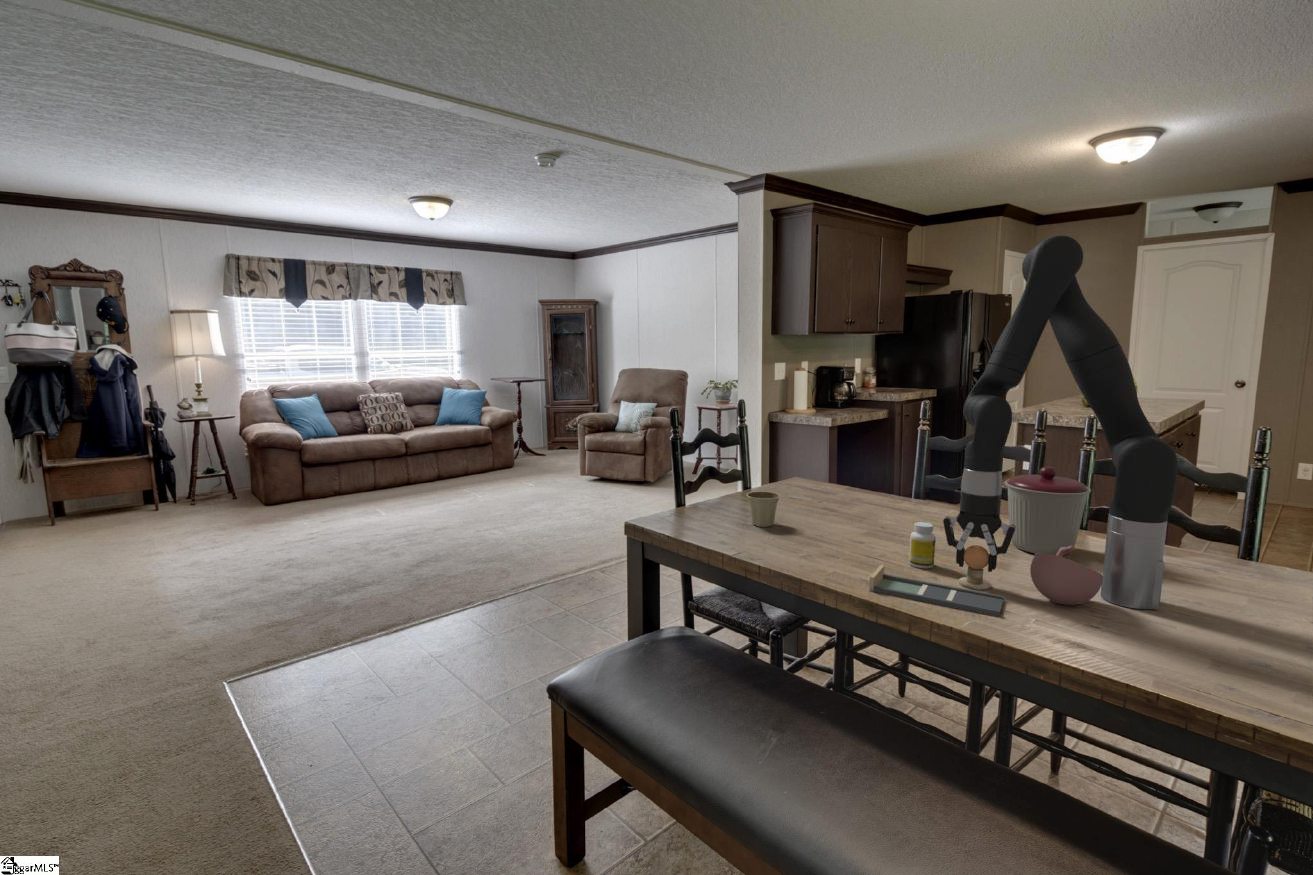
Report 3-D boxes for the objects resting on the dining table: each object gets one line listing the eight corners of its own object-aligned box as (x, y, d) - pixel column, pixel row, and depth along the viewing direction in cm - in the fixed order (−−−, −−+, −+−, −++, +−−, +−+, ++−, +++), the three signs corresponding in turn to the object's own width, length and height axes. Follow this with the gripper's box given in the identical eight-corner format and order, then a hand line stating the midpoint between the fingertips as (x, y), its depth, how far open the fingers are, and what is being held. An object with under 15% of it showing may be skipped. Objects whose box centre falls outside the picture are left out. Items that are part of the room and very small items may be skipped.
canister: (1065, 567, 147) (1073, 477, 144) (986, 547, 162) (992, 465, 158) (1097, 552, 158) (1105, 468, 155) (1020, 534, 172) (1026, 457, 169)
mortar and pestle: (1111, 606, 125) (1117, 550, 123) (1078, 619, 119) (1084, 560, 117) (1049, 586, 135) (1053, 534, 133) (1015, 598, 129) (1019, 543, 128)
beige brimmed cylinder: (991, 583, 137) (992, 567, 137) (988, 592, 132) (989, 575, 132) (961, 577, 140) (962, 561, 140) (956, 586, 136) (958, 569, 135)
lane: (1003, 600, 128) (1004, 586, 127) (999, 616, 120) (1000, 601, 120) (880, 577, 141) (880, 564, 140) (869, 590, 133) (869, 576, 133)
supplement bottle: (936, 569, 145) (938, 528, 144) (911, 568, 147) (913, 526, 145) (931, 562, 151) (933, 521, 149) (906, 560, 152) (909, 520, 150)
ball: (990, 567, 137) (991, 544, 136) (987, 574, 132) (989, 551, 132) (964, 563, 139) (965, 540, 139) (961, 569, 135) (962, 547, 134)
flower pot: (740, 521, 186) (741, 492, 185) (769, 518, 189) (770, 490, 187) (754, 530, 177) (755, 499, 176) (785, 527, 180) (786, 497, 179)
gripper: (1021, 490, 133) (1015, 569, 135) (946, 483, 140) (942, 557, 143) (1019, 498, 126) (1012, 580, 129) (941, 489, 134) (936, 567, 137)
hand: (975, 567), depth 136 cm, fingers closed on ball, 5 cm apart
